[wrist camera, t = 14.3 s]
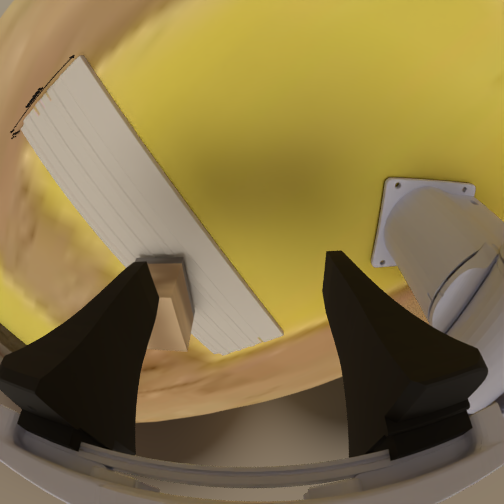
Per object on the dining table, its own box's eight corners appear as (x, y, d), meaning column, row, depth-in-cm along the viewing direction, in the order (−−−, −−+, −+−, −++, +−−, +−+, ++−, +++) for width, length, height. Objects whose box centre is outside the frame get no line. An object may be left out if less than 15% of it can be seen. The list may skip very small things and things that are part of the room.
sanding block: (183, 257, 22) (171, 297, 18) (195, 311, 25) (187, 351, 21) (136, 257, 22) (117, 296, 18) (153, 310, 25) (141, 348, 21)
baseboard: (204, 351, 32) (282, 324, 29) (202, 370, 29) (285, 345, 27) (19, 136, 17) (89, 54, 14) (-2, 146, 14) (69, 54, 12)
